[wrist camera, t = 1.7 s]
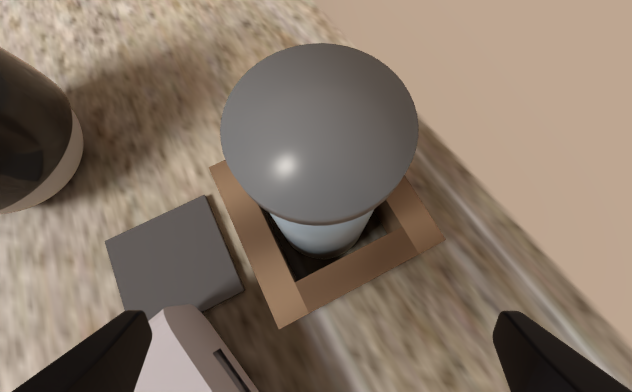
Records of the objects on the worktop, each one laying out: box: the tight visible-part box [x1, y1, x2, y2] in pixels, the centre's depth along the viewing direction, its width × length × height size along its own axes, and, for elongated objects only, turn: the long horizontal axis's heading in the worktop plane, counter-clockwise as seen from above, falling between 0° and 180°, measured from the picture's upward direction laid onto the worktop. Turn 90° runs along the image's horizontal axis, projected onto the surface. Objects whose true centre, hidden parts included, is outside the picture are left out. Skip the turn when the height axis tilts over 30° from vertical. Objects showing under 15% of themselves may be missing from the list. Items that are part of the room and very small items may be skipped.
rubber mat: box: [105, 195, 245, 321], centre depth 20 cm, size 7×7×1 cm
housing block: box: [209, 160, 446, 329], centre depth 20 cm, size 10×10×4 cm
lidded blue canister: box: [220, 43, 418, 259], centre depth 16 cm, size 6×6×12 cm
